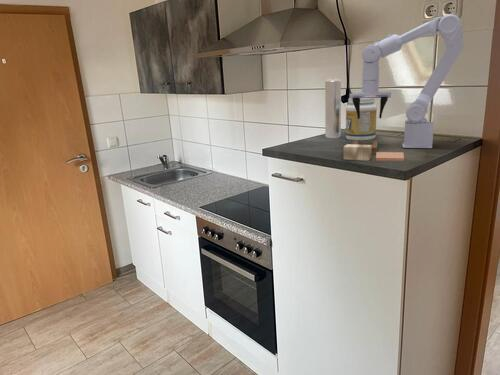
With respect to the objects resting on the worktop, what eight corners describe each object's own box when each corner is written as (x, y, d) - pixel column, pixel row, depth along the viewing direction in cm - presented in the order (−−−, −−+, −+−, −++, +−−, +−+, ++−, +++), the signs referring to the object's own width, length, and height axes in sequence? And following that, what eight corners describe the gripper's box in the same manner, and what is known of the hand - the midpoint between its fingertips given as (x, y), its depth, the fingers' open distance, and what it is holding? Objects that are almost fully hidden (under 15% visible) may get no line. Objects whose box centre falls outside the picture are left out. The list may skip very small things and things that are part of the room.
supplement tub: (341, 137, 168) (342, 98, 163) (368, 135, 169) (369, 96, 164) (351, 142, 156) (352, 99, 151) (380, 140, 157) (382, 97, 152)
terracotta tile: (403, 155, 127) (403, 152, 127) (404, 161, 119) (404, 158, 119) (376, 155, 130) (376, 152, 130) (375, 160, 122) (375, 157, 122)
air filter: (333, 139, 166) (333, 78, 159) (322, 137, 171) (322, 79, 164) (343, 136, 169) (344, 78, 162) (332, 135, 174) (332, 78, 167)
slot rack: (377, 147, 143) (377, 140, 142) (376, 155, 130) (376, 147, 130) (353, 147, 146) (353, 140, 145) (350, 154, 133) (350, 147, 132)
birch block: (371, 144, 125) (347, 144, 129) (368, 147, 122) (343, 146, 125) (371, 158, 127) (347, 157, 130) (368, 161, 123) (343, 160, 127)
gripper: (391, 79, 141) (390, 116, 145) (350, 81, 146) (350, 117, 150) (391, 79, 135) (390, 118, 139) (349, 81, 140) (348, 119, 143)
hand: (369, 118), depth 144 cm, fingers open, 7 cm apart
